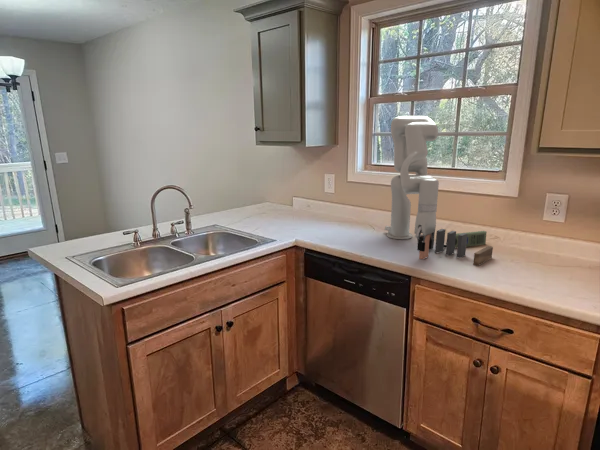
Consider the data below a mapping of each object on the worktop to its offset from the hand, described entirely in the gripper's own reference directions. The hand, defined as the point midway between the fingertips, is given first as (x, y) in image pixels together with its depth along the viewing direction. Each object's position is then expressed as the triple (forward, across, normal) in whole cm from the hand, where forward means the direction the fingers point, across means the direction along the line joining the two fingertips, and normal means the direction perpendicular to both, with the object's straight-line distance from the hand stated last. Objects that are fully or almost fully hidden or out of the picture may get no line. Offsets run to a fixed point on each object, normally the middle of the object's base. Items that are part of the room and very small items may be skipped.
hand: (424, 248), depth 168 cm
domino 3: (+4, -13, 0) cm, 14 cm away
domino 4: (+4, -13, +6) cm, 15 cm away
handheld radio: (+5, -28, +4) cm, 29 cm away
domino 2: (+4, -13, -4) cm, 14 cm away
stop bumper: (+4, -13, +20) cm, 24 cm away
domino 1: (+4, 0, 0) cm, 4 cm away
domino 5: (+4, -13, +10) cm, 17 cm away
